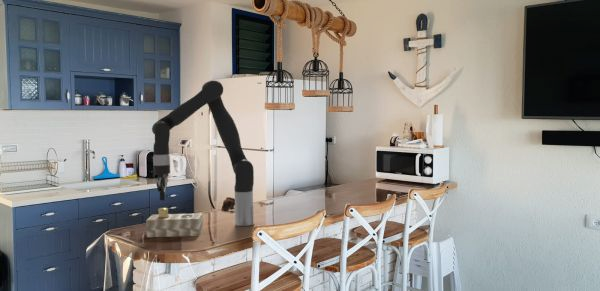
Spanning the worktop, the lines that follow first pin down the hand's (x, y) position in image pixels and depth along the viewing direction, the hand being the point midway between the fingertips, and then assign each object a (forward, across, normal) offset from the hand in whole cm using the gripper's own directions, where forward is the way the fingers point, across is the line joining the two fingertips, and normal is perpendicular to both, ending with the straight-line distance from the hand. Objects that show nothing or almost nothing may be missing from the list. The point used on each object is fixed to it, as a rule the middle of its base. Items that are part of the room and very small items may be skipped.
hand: (162, 200), depth 227 cm
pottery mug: (+16, +52, -27) cm, 61 cm away
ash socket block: (+16, 0, -6) cm, 17 cm away
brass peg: (+12, 0, 0) cm, 12 cm away
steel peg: (+16, 0, -11) cm, 20 cm away
